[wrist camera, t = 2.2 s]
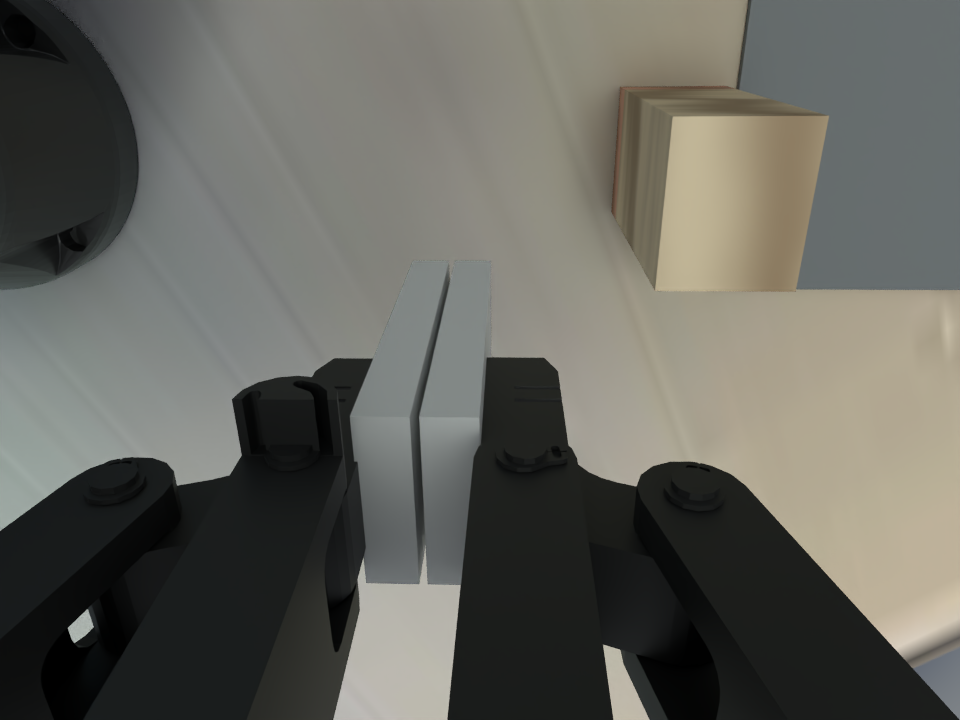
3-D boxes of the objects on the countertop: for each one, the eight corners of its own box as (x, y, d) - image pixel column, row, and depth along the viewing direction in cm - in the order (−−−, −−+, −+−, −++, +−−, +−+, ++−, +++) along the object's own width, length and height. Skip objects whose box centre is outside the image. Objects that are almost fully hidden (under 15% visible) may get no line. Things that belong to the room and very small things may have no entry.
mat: (710, 286, 38) (711, 288, 38) (749, -9, 32) (752, -9, 32) (1096, 287, 37) (1102, 290, 37) (1210, -14, 31) (1218, -15, 31)
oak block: (611, 211, 37) (654, 291, 26) (620, 86, 34) (672, 116, 23) (710, 211, 36) (795, 291, 26) (726, 86, 34) (829, 115, 23)
